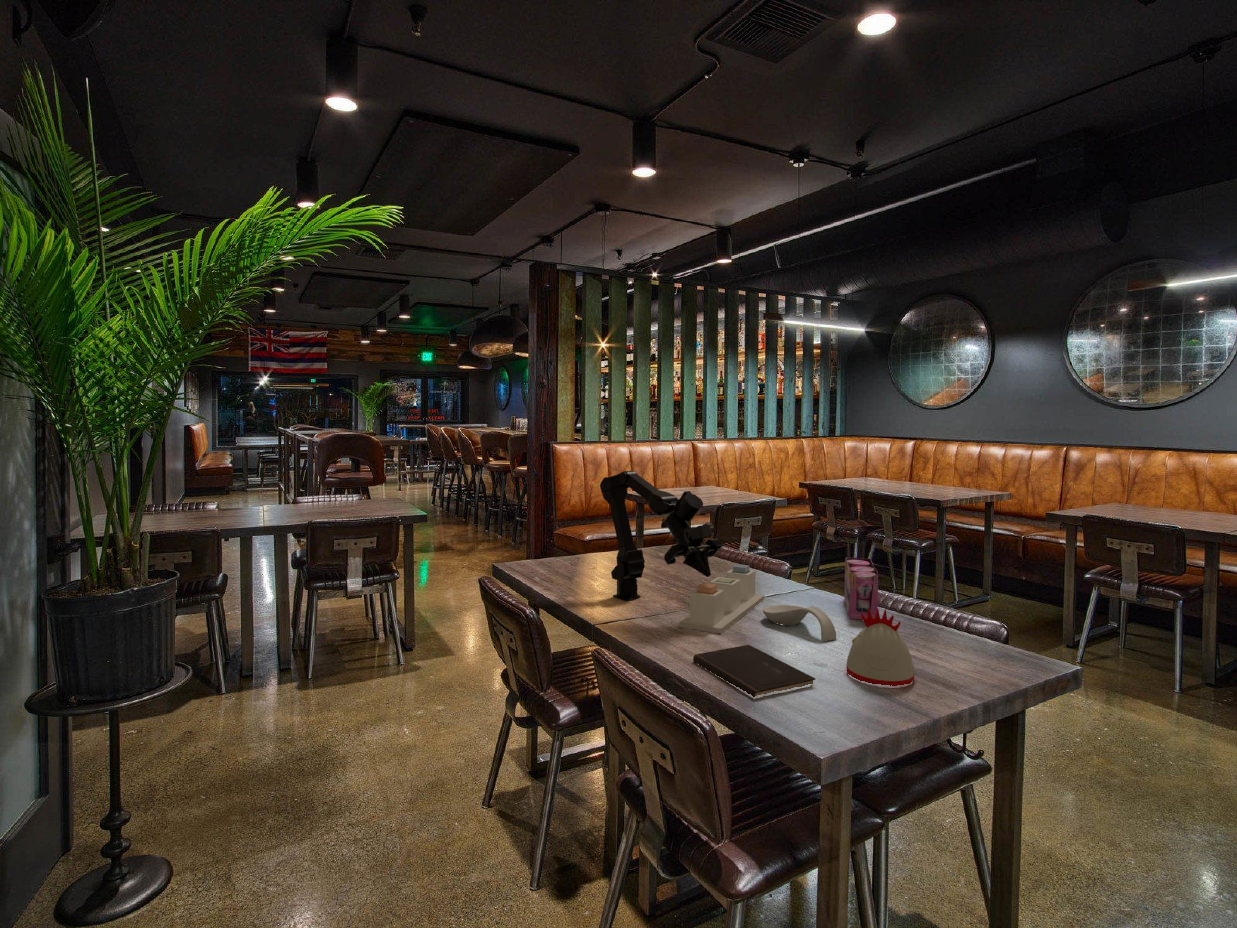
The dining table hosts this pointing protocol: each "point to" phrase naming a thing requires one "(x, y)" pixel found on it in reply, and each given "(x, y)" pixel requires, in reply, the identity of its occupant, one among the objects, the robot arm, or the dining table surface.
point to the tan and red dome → (880, 653)
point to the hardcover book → (752, 670)
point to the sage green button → (725, 580)
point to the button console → (722, 603)
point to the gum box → (860, 587)
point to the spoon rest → (800, 618)
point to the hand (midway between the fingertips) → (709, 575)
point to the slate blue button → (741, 568)
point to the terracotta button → (707, 588)
